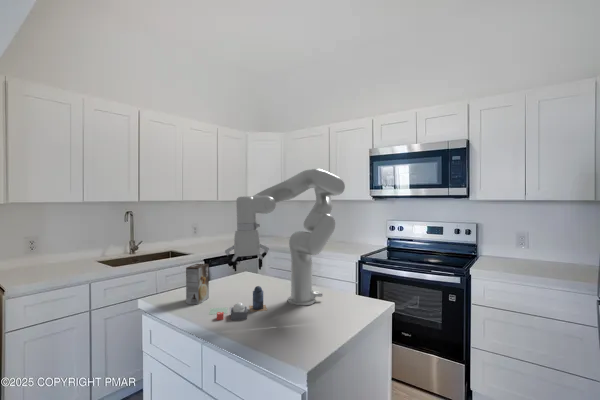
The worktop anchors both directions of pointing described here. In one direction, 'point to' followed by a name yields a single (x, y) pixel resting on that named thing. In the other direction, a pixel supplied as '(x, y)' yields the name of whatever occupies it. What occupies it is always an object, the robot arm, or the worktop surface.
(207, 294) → the coffee box
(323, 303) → the worktop surface
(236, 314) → the game board
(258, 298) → the pawn
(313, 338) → the worktop surface
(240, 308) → the popper dome
